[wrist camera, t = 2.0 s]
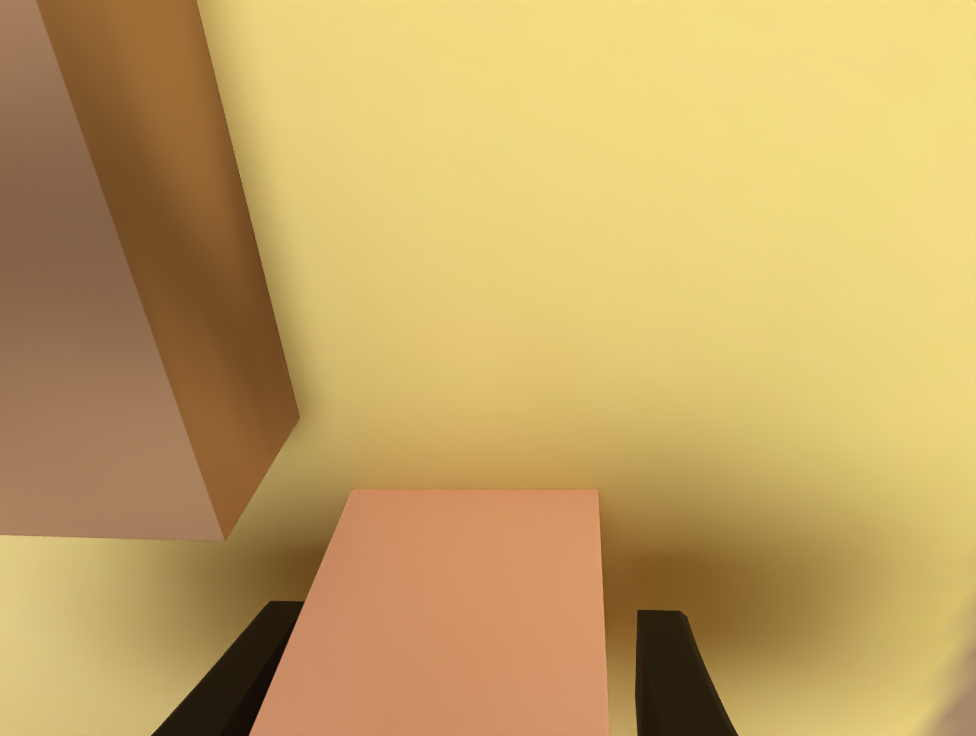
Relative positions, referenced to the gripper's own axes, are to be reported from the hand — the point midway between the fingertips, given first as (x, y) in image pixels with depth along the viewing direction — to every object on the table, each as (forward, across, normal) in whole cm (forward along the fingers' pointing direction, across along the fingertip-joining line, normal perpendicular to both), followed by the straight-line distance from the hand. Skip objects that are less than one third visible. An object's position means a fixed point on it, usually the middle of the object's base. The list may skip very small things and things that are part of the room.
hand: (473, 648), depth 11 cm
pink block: (+2, 0, 0) cm, 2 cm away
